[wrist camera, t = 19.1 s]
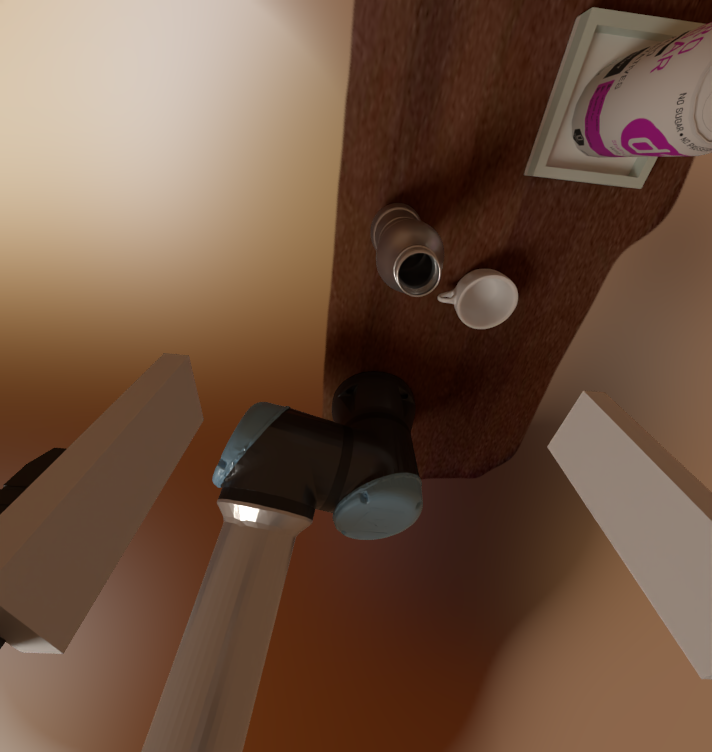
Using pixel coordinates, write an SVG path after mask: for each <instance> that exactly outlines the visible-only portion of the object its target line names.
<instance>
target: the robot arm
mask: <svg viewBox="0 0 712 752" xmlns="http://www.w3.org/2000/svg"><path fill="white" fill-rule="evenodd" d="M415 409H416V408H415V401H414V397H413V394H412V391H411V389H410V388H409V387H408V385H407V384H406V383H405V382H404V381H402V380H401V379H400V378H398V377H396V376H394V375H391V374H388V373H384V372H364V373H360V374H357V375H354V376H352V377H350V378H349V379H347V380H346V381H344V382H343V383H342V384H341V385H340V386H339V387H338V389H337V390H336V392H335V394H334V397H333V403H332V416H333V420H334V422H333V421H329V420H326V419H323V418H320V417H316V416H313V415H310V414H307V413H304V412H301V411H297V410H294V409H291V408H290V407H289V406H286V407H284V406H279V405H275V404H271V403H268V402H259V403H256V404H254V405H253V406H252V407H250V408H249V410H248V411H247V412H246V413H245V415H244V416H243V418H242V419H241V421H240V422H239V424H238V425H237V427H236V429H235V431H234V432H233V434H232V436H231V438H230V440H229V441H228V443H227V445H226V448H225V449H224V451H223V454H222V456H221V459H220V461H219V463H218V465H217V467H216V469H215V472H214V475H213V483H214V484H215V485H216V486H217V487H219V488H221V487H222V490H221V494H220V496H219V498H218V501H217V503H218V506H219V508H220V510H221V512H222V514H223V518H224V523H223V527H222V529H221V532H220V535H219V537H218V540H217V543H216V546H215V548H214V551H213V554H212V557H211V560H210V562H209V565H208V568H207V571H206V574H205V576H204V579H203V582H202V585H201V588H200V590H199V593H198V596H197V598H196V601H195V604H194V607H193V610H192V612H191V615H190V618H189V621H188V623H187V626H186V629H185V632H184V635H183V637H182V640H181V643H180V646H179V649H178V651H177V654H176V657H175V660H174V662H173V665H172V668H171V671H170V674H169V676H168V679H167V682H166V685H165V688H164V690H163V693H162V696H161V699H160V701H159V704H158V707H157V710H156V713H155V715H154V718H153V721H152V724H151V727H150V729H149V732H148V735H147V738H146V740H145V743H144V746H143V749H142V752H242V751H243V747H244V743H245V739H246V735H247V731H248V726H249V723H250V719H251V715H252V711H253V707H254V702H255V698H256V695H257V691H258V686H259V683H260V678H261V674H262V670H263V666H264V662H265V658H266V654H267V650H268V646H269V642H270V638H271V634H272V630H273V626H274V622H275V618H276V614H277V610H278V606H279V602H280V598H281V594H282V590H283V586H284V582H285V578H286V574H287V570H288V566H289V562H290V558H291V554H292V550H293V546H294V542H295V538H296V536H297V535H298V534H299V533H300V532H301V531H303V530H304V529H305V528H306V527H308V526H309V525H311V524H312V520H313V516H314V512H315V509H319V510H323V511H327V512H331V513H333V521H334V524H335V526H336V528H337V529H338V531H341V533H342V534H343V535H345V536H347V537H350V538H354V539H361V540H373V539H380V538H385V537H389V536H391V535H395V534H397V533H400V532H402V531H404V530H405V529H407V528H408V527H410V526H411V525H412V524H413V523H414V522H415V521H416V520H417V519H418V517H419V515H420V513H421V511H422V506H423V502H422V490H421V486H422V483H421V479H420V478H419V473H418V468H417V463H416V458H415V453H414V448H413V443H412V438H411V429H412V425H413V421H414V417H415ZM203 420H204V419H203V415H202V410H201V406H200V402H199V398H198V393H197V389H196V385H195V380H194V376H193V372H192V367H191V363H190V359H189V356H188V355H178V354H166V353H164V354H163V355H162V356H161V357H160V358H159V359H158V360H157V361H156V362H155V363H154V364H153V365H152V366H151V367H150V368H149V369H148V370H147V371H146V372H145V373H144V374H143V375H142V376H141V377H140V378H139V379H138V380H136V381H135V382H134V383H133V384H132V385H131V386H130V387H129V388H128V390H126V391H125V392H124V393H123V394H122V395H121V396H120V397H119V398H118V399H117V400H116V401H115V402H114V403H113V404H112V405H111V406H110V407H109V408H108V409H107V410H106V411H105V412H104V413H103V414H102V415H101V416H100V417H99V418H98V419H97V420H96V421H95V422H94V423H93V424H92V425H91V426H90V427H89V428H88V429H87V430H86V431H85V432H84V433H83V434H82V435H81V436H80V437H79V438H78V439H77V440H76V441H75V442H74V443H73V444H71V446H70V447H68V448H67V449H63V448H53V449H52V450H50V451H48V452H46V453H45V454H43V455H41V456H40V457H38V458H36V459H34V460H33V461H31V462H29V463H28V464H26V465H25V466H24V467H23V468H22V469H21V470H20V471H19V472H17V473H16V474H15V475H14V476H13V477H12V478H11V479H10V480H9V481H7V483H5V484H4V487H3V489H0V649H1V647H2V646H3V644H4V643H5V642H7V643H8V644H10V645H11V646H13V647H14V648H16V649H18V650H19V651H20V652H28V653H30V652H31V653H53V654H63V653H64V652H65V650H66V648H67V647H68V645H69V643H70V642H71V640H72V638H73V636H74V635H75V633H76V632H77V630H78V628H79V627H80V625H81V623H82V622H83V620H84V618H85V617H86V615H87V613H88V612H89V610H90V608H91V607H92V605H93V603H94V602H95V600H96V598H97V597H98V595H99V593H100V592H101V590H102V588H103V587H104V585H105V583H106V582H107V580H108V578H109V577H110V575H111V573H112V572H113V570H114V568H115V567H116V565H117V563H118V562H119V560H120V558H121V557H122V555H123V553H124V552H125V550H126V548H127V547H128V545H129V543H130V542H131V540H132V538H133V537H134V535H135V533H136V531H137V530H138V528H139V527H140V525H141V523H142V522H143V520H144V518H145V517H146V515H147V513H148V512H149V510H150V508H151V507H152V505H153V503H154V502H155V500H156V498H157V497H158V495H159V493H160V492H161V490H162V488H163V487H164V485H165V483H166V482H167V480H168V478H169V477H170V475H171V473H172V472H173V470H174V468H175V467H176V465H177V463H178V462H179V460H180V458H181V457H182V455H183V453H184V452H185V450H186V448H187V447H188V445H189V443H190V442H191V440H192V438H193V437H194V435H195V433H196V432H197V430H198V428H199V427H200V425H201V423H202V422H203ZM547 447H548V449H549V450H550V452H551V453H552V455H553V456H554V458H555V459H556V461H557V462H558V464H559V465H560V467H561V468H562V470H563V471H564V473H565V474H566V476H567V477H568V479H569V480H570V482H571V483H572V485H573V486H574V488H575V489H576V491H577V492H578V494H579V495H580V497H581V498H582V500H583V501H584V503H585V504H586V506H587V507H588V509H589V510H590V512H591V513H592V515H593V517H594V518H595V520H596V521H597V523H598V524H599V525H600V527H601V529H602V530H603V532H604V533H605V535H606V536H607V538H608V539H609V541H610V542H611V544H612V545H613V547H614V548H615V550H616V551H617V553H618V554H619V556H620V557H621V559H622V560H623V562H624V563H625V565H626V566H627V568H628V569H629V570H630V572H631V574H632V575H633V577H634V578H635V580H636V581H637V583H638V584H639V586H640V587H641V589H642V590H643V592H644V593H645V595H646V596H647V598H648V599H649V601H650V602H651V604H652V605H653V607H654V608H655V610H656V611H657V613H658V615H659V616H660V618H661V619H662V620H663V622H664V624H665V625H666V627H667V628H668V629H669V631H670V633H671V634H672V635H673V637H674V639H675V640H676V642H677V643H678V645H679V646H680V648H681V649H682V651H683V652H684V654H685V655H686V657H687V658H688V660H689V661H690V663H691V664H692V666H693V667H694V669H695V670H696V672H697V673H698V675H699V676H700V678H701V679H712V492H711V491H710V490H708V489H707V488H706V487H705V486H704V485H703V484H702V483H701V482H700V481H699V480H698V479H697V478H696V477H695V476H694V475H692V474H691V473H690V472H689V471H688V470H687V469H686V468H685V467H684V466H683V465H682V464H681V463H680V462H678V461H677V460H676V459H675V458H674V457H673V456H672V455H671V454H670V453H669V452H668V451H667V450H666V449H664V447H662V446H661V445H660V444H659V443H658V442H657V441H656V440H655V439H654V438H653V437H652V436H651V435H650V434H648V432H646V431H645V430H644V429H643V428H642V427H641V426H640V425H639V424H638V423H637V422H636V421H635V420H634V419H633V418H631V417H630V416H629V415H628V414H627V413H626V412H625V411H624V410H623V409H622V408H621V407H620V406H619V405H618V404H616V403H615V402H614V401H613V400H612V399H611V398H610V397H609V396H608V395H607V394H606V393H604V392H593V391H583V392H582V393H581V395H580V397H579V398H578V400H577V401H576V403H575V404H574V406H573V407H572V409H571V411H570V412H569V414H568V415H567V417H566V419H565V420H564V422H563V423H562V425H561V426H560V428H559V429H558V431H557V432H556V434H555V436H554V437H553V439H552V440H551V442H550V443H549V445H548V446H547Z"/></svg>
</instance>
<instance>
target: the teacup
mask: <svg viewBox="0 0 712 752" xmlns="http://www.w3.org/2000/svg"><path fill="white" fill-rule="evenodd" d="M442 297H450V298H442ZM438 300H439V301H441V302H444V303H452V304H454V307H455V310H456V312H457V314H458V316H459V318H460V319H461V321H462V322H463V323H464V324H466V325H467V326H469V327H471V328H475V329H487V328H491V327H494V326H497V325H499V324H501V323H502V322H504V321H505V320H506V319H507V318H508V317H509V316H510V315H511V314H512V313H513V311H514V309H515V307H516V305H517V301H518V291H517V288H516V286H515V284H514V283H513V282H512V281H511V280H510V279H509V278H508V277H507V276H505V275H504V274H502V273H500V272H498V271H496V270H493V269H477V270H474V271H471V272H469V273H468V274H466V275H465V276H464V277H463V278H462V279H461V280H460V281H459V282H458V284H457V286H456V287H455V289H453V290H452V291H449V292H445V293H441V294H439V295H438Z"/></svg>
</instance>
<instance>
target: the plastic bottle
mask: <svg viewBox="0 0 712 752" xmlns="http://www.w3.org/2000/svg"><path fill="white" fill-rule="evenodd" d="M371 240H372V243H373V246H374V248H375V249H376V264H377V269H378V272H379V274H380V276H381V278H382V279H383V281H384V282H385V283H386V284H387V285H388V286H390V287H391V288H392V289H395V290H397V291H399V292H403V293H406V294H407V295H410V296H413V297H421V296H425V295H427V294H429V293H430V292H432V291H433V290H434V289H435V288H436V286H437V285H438V283H439V281H440V278H441V269H442V267H443V262H444V247H443V242H442V240H441V238H440V236H439V234H438V233H437V232H436V230H435V229H433V228H432V227H431V226H430V225H428V224H426V223H424V222H422V221H421V219H420V217H419V215H418V214H417V212H416V211H415V210H414V209H413V208H412V207H410V206H408V205H406V204H403V203H392V204H389V205H387V206H385V207H383V208H382V209H381V210H380V211H379V212H378V213H377V214H376V216H375V218H374V220H373V222H372V226H371Z"/></svg>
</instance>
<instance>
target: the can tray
mask: <svg viewBox="0 0 712 752" xmlns="http://www.w3.org/2000/svg"><path fill="white" fill-rule="evenodd" d="M703 25H705V24H703V23H696V22H689V21H682V20H676V19H669V18H662V17H655V16H649V15H642V14H635V13H628V12H622V11H615V10H608V9H601V8H595V7H592V8H590V9H589V10H587V11H586V12H584V13H583V14H581V15H580V16H578V17H577V18H576V21H575V24H574V27H573V30H572V33H571V36H570V39H569V42H568V45H567V48H566V51H565V54H564V57H563V60H562V62H561V65H560V68H559V71H558V74H557V77H556V80H555V83H554V86H553V89H552V92H551V95H550V98H549V101H548V104H547V107H546V110H545V113H544V116H543V119H542V122H541V125H540V128H539V131H538V134H537V137H536V140H535V143H534V146H533V149H532V152H531V154H530V157H529V160H528V163H527V166H526V169H525V172H524V175H527V176H536V177H544V178H552V179H561V180H569V181H577V182H586V183H594V184H603V185H611V186H619V187H628V188H639V189H641V188H642V186H643V184H644V182H645V180H646V178H647V177H648V175H649V173H650V171H651V169H652V167H653V165H654V163H655V161H656V159H657V158H658V157H602V158H598V157H591V156H586V155H585V154H583V153H582V152H581V151H580V150H578V149H577V147H576V145H575V142H574V140H573V138H572V118H573V114H574V111H575V107H576V104H577V102H578V100H579V98H580V96H581V94H582V92H583V90H584V89H585V87H586V85H587V84H588V83H589V82H590V81H591V80H592V79H593V77H594V76H595V75H596V74H597V73H598V72H599V71H600V70H601V69H603V68H604V67H606V66H607V65H609V64H610V63H611V62H613V61H614V60H617V59H619V58H622V57H624V56H627V55H629V54H632V53H634V52H637V51H640V50H642V49H645V48H647V47H650V46H652V45H655V44H657V43H660V42H662V41H665V40H667V39H670V38H672V37H675V36H677V35H680V34H683V33H685V32H688V31H690V30H693V29H695V28H698V27H700V26H703Z"/></svg>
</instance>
